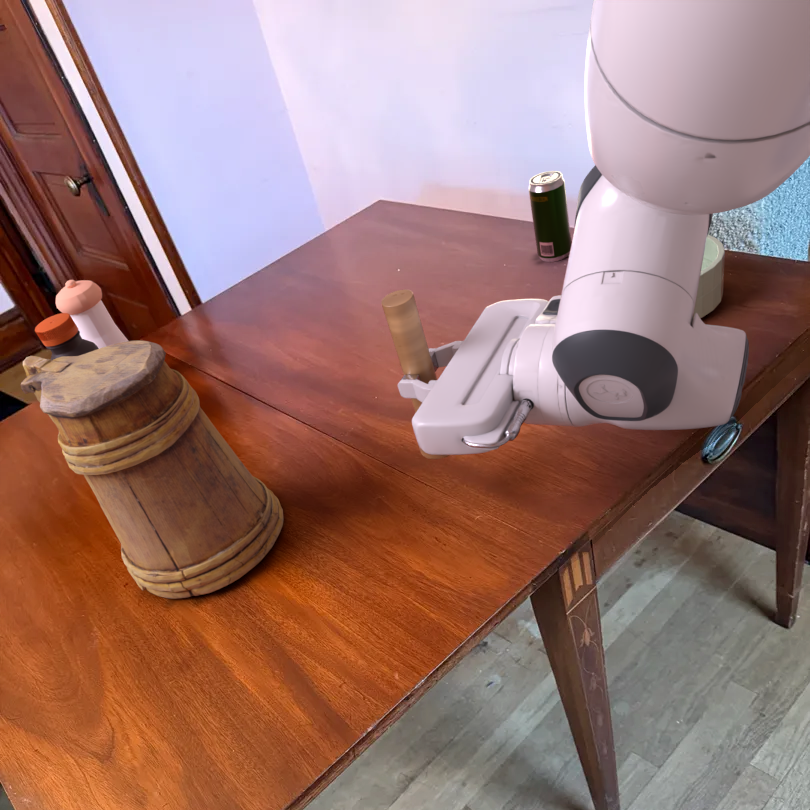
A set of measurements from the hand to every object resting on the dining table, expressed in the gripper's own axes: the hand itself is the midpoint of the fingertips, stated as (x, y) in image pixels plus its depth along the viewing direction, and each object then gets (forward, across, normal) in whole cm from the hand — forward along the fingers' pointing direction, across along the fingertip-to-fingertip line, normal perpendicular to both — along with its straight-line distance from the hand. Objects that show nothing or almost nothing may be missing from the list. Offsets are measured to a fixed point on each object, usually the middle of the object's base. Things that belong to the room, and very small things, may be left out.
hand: (411, 372), depth 73 cm
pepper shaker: (+65, +17, -16) cm, 70 cm away
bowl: (-15, +41, -17) cm, 47 cm away
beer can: (+5, +57, -17) cm, 60 cm away
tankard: (+28, -12, -16) cm, 35 cm away
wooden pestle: (-1, 0, -9) cm, 9 cm away
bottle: (+55, +4, -16) cm, 57 cm away
